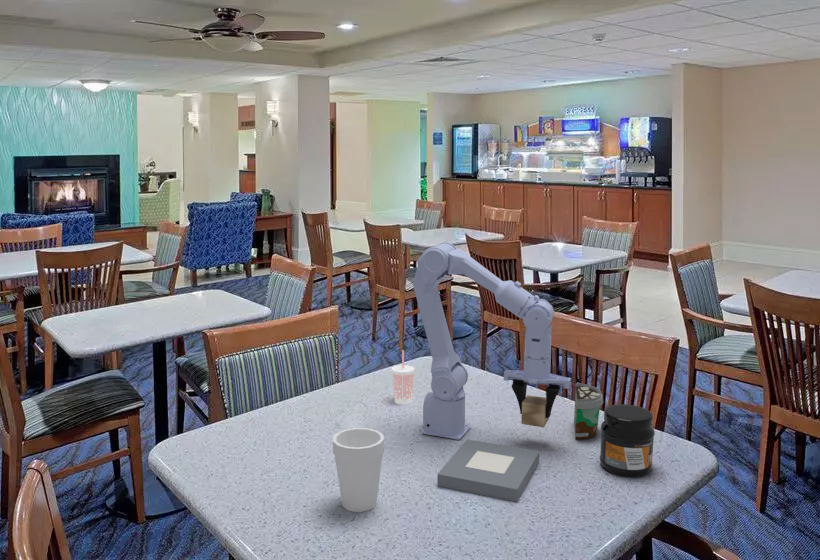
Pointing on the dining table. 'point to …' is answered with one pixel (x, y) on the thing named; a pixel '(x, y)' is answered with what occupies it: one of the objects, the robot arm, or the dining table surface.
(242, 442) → the dining table surface
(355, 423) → the dining table surface
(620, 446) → the supplement container
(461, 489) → the plinth
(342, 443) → the foam cup
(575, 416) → the food container
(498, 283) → the robot arm
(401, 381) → the beverage cup
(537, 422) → the oak cube
